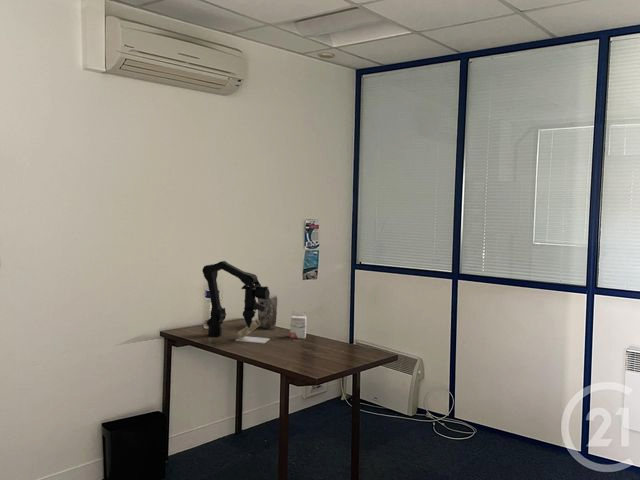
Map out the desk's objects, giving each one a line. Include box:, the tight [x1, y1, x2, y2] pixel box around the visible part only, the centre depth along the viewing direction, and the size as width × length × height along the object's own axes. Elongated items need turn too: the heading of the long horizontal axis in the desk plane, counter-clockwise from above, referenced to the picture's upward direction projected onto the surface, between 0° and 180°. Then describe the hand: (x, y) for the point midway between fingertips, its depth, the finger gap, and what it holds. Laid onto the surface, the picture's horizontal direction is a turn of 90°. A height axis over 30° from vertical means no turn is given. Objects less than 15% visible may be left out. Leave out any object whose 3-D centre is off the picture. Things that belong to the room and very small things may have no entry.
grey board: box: [235, 335, 271, 344], centre depth 334 cm, size 16×10×1 cm, turn 77°
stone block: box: [257, 293, 278, 330], centre depth 367 cm, size 13×7×20 cm, turn 44°
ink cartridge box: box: [289, 309, 307, 340], centre depth 344 cm, size 9×5×15 cm, turn 84°
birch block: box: [236, 318, 261, 340], centre depth 334 cm, size 4×5×13 cm
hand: (249, 326), depth 333 cm, fingers open, 6 cm apart
